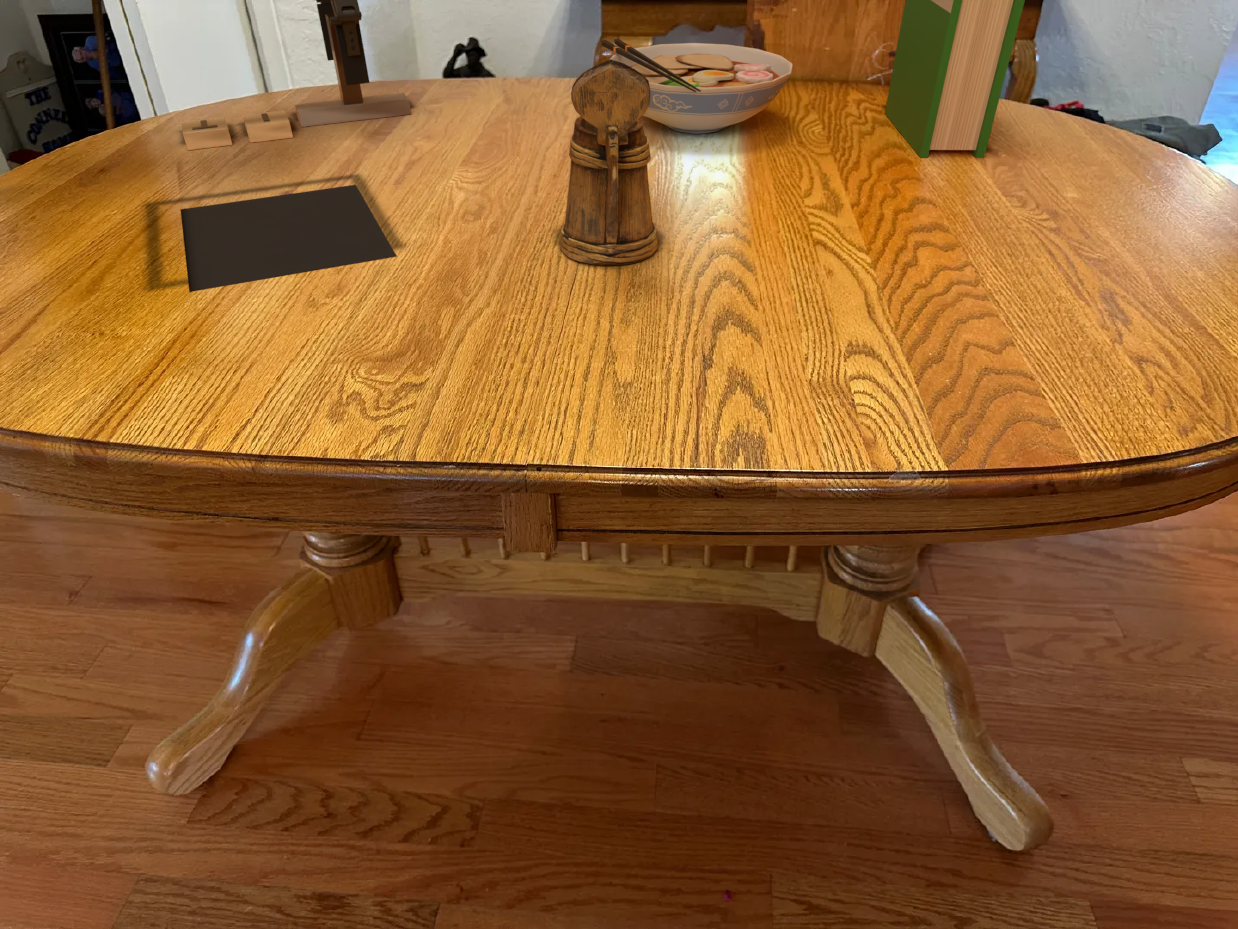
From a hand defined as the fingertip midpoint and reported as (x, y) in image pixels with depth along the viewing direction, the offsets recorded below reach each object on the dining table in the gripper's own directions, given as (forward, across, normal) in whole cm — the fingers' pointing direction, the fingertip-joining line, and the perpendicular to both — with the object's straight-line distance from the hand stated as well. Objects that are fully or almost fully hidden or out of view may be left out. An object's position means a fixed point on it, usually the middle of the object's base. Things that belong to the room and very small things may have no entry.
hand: (347, 70), depth 108 cm
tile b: (+6, -3, +11) cm, 13 cm away
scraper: (+6, 0, 0) cm, 6 cm away
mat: (+6, -35, +15) cm, 38 cm away
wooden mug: (+6, -53, -13) cm, 55 cm away
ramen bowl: (+6, -21, -39) cm, 45 cm away
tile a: (+6, -3, +18) cm, 19 cm away
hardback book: (+6, -36, -64) cm, 74 cm away
